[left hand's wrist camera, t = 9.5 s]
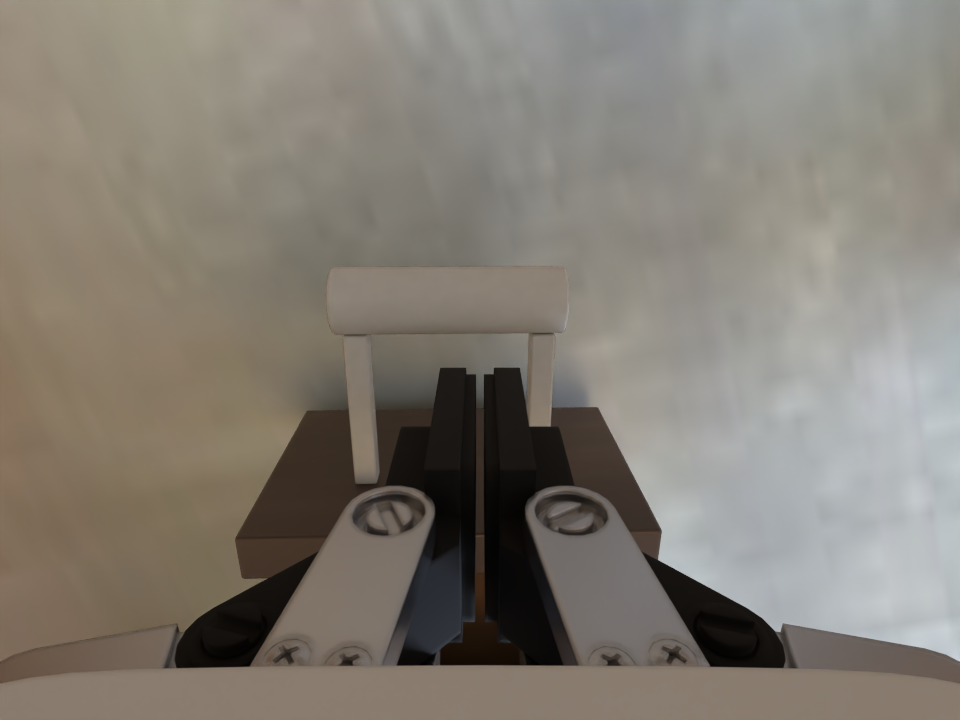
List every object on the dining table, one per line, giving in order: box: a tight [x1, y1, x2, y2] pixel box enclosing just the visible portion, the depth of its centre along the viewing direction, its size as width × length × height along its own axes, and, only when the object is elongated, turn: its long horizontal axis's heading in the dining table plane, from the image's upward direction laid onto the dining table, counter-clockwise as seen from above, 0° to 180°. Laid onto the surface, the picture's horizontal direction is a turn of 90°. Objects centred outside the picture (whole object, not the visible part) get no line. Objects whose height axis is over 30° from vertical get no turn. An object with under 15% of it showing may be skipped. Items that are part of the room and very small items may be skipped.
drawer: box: [235, 266, 662, 666], centre depth 19 cm, size 26×10×7 cm, turn 0°
